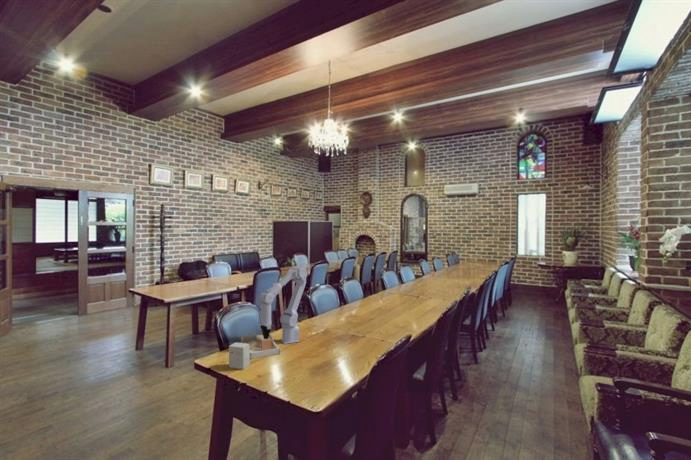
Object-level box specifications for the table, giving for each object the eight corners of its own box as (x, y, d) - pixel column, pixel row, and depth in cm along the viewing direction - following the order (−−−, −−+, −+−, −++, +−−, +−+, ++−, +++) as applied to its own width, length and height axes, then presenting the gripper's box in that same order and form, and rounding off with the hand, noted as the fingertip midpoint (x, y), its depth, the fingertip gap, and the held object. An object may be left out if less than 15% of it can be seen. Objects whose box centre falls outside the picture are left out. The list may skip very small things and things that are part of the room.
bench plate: (268, 340, 197) (268, 333, 197) (274, 346, 187) (274, 339, 187) (240, 344, 190) (240, 337, 190) (244, 351, 179) (244, 343, 179)
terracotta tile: (270, 338, 183) (271, 340, 181) (270, 348, 183) (271, 349, 181) (261, 340, 181) (262, 341, 179) (261, 349, 181) (261, 350, 179)
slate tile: (254, 337, 190) (254, 332, 190) (256, 339, 186) (256, 335, 186) (245, 338, 188) (245, 334, 188) (247, 341, 183) (247, 336, 183)
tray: (273, 346, 186) (273, 341, 186) (279, 354, 176) (279, 348, 176) (245, 351, 179) (245, 345, 179) (249, 359, 168) (249, 353, 168)
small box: (249, 365, 161) (250, 343, 161) (243, 369, 156) (243, 347, 156) (235, 363, 164) (235, 341, 164) (228, 367, 158) (228, 345, 158)
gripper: (256, 312, 190) (255, 335, 190) (261, 318, 177) (261, 343, 177) (268, 310, 193) (268, 334, 193) (274, 316, 180) (274, 341, 180)
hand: (265, 338), depth 185 cm, fingers closed
